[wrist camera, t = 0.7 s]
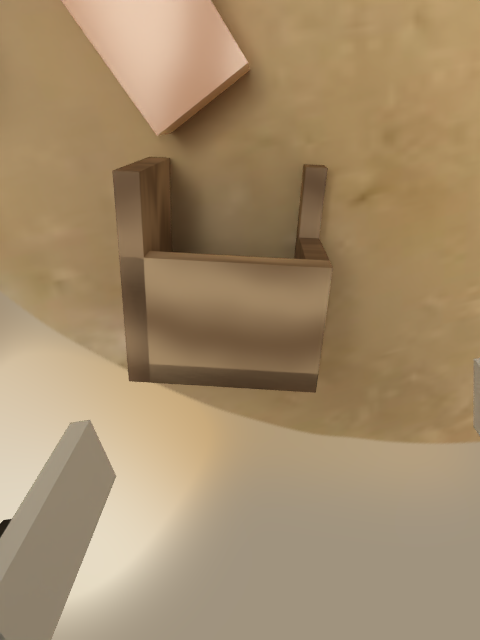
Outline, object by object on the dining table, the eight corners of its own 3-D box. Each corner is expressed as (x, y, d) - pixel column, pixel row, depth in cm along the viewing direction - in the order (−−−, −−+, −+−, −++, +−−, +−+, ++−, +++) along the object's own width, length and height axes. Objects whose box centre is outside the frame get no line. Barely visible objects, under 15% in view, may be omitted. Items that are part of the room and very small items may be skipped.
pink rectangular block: (45, -49, 28) (4, -80, 24) (127, -135, 26) (99, -187, 22) (171, 132, 32) (156, 135, 28) (250, 70, 30) (248, 62, 26)
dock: (149, 156, 33) (112, 170, 25) (323, 165, 32) (344, 182, 24) (156, 325, 39) (129, 381, 31) (304, 333, 38) (315, 392, 30)
